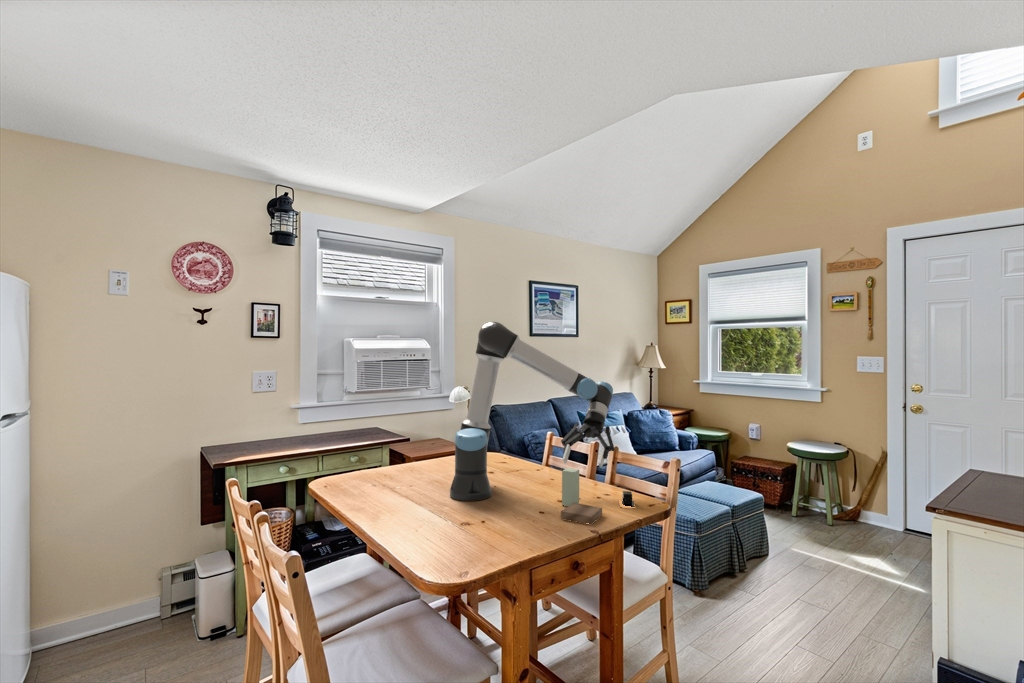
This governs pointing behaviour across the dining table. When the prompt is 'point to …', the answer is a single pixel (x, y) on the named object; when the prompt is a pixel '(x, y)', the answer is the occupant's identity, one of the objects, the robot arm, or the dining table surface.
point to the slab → (581, 513)
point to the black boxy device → (627, 499)
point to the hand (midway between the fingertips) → (581, 463)
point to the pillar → (570, 486)
